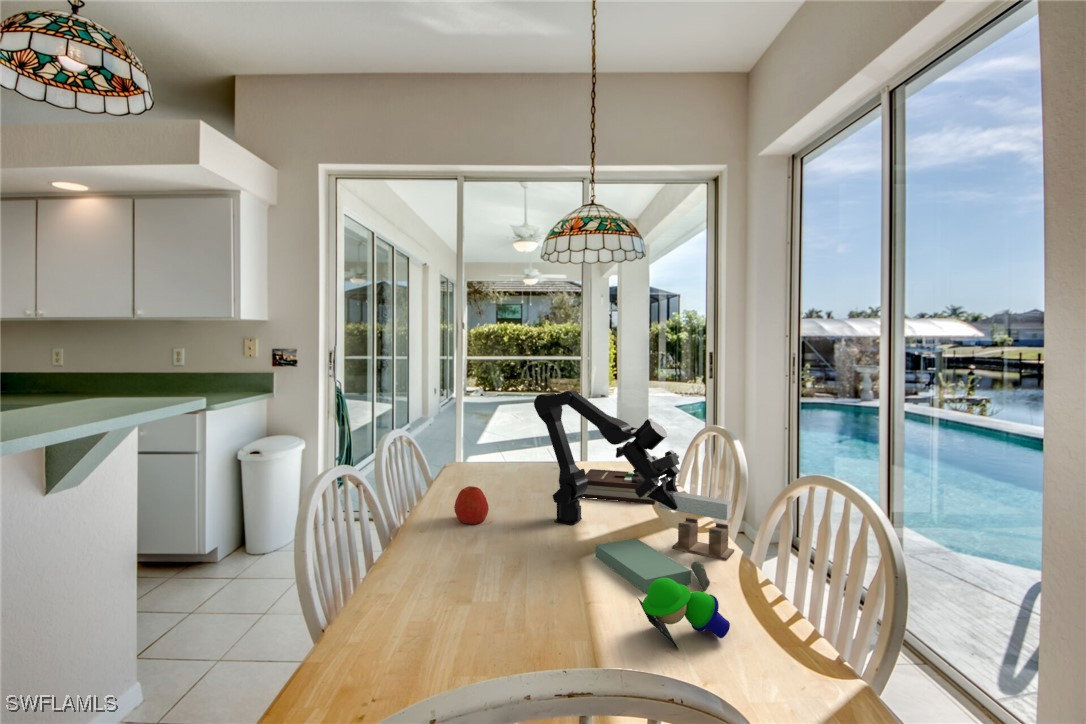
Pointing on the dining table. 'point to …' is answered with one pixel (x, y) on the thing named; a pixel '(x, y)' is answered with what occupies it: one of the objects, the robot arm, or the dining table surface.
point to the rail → (700, 505)
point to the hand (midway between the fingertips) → (679, 506)
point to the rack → (691, 544)
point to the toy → (682, 608)
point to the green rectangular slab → (641, 563)
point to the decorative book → (614, 486)
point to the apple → (471, 505)
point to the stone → (700, 575)
